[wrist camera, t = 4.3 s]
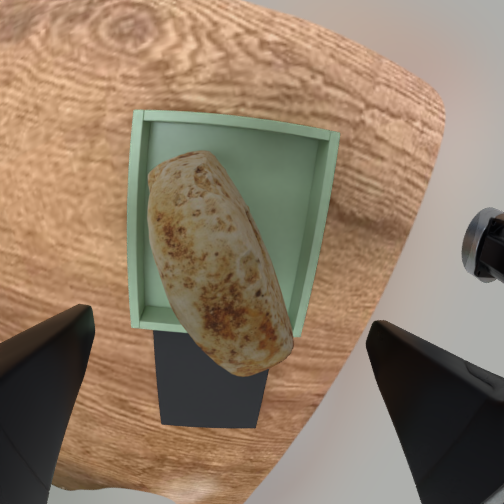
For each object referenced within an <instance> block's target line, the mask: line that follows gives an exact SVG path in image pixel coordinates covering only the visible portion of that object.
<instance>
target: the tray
mask: <svg viewBox="0 0 504 504" xmlns="http://www.w3.org/2000/svg"><path fill="white" fill-rule="evenodd" d="M339 140H340V133H339V132H335V131H330V130H325V129H320V128H315V127H310V126H304V125H298V124H292V123H286V122H280V121H273V120H266V119H259V118H251V117H243V116H234V115H225V114H214V113H202V112H187V111H168V110H134V112H133V121H132V131H131V142H130V156H129V172H128V196H127V264H128V288H129V304H130V318H131V327H132V328H141V329H150V330H160V331H171V332H183V333H188V332H187V331H186V330H185V329H184V327H183V326H182V325H181V324H180V322H179V320H178V319H177V317H176V315H175V314H174V312H173V310H172V309H171V306H170V304H169V301H168V298H167V296H166V293H165V290H164V287H163V284H162V281H161V278H160V275H159V272H158V269H157V266H156V263H155V260H154V257H153V253H152V249H151V245H150V241H149V228H148V222H147V214H148V200H149V195H150V192H149V187H148V174H149V173H150V171H152V170H153V169H154V168H155V167H156V166H157V165H159V164H160V163H162V162H164V161H166V160H168V159H171V158H173V157H176V156H179V155H181V154H185V153H187V152H192V151H200V150H205V151H210V152H211V153H212V154H213V155H214V156H215V157H216V158H217V159H218V161H219V162H220V164H221V165H222V166H223V167H224V168H225V169H226V172H227V174H228V175H229V177H230V178H231V180H232V181H233V183H234V184H235V186H236V188H237V189H238V191H239V193H240V194H241V196H242V198H243V199H244V201H245V203H246V205H247V206H249V209H250V213H251V215H252V217H253V219H254V221H255V223H256V225H257V227H258V230H259V232H260V234H261V237H262V240H263V242H264V244H265V246H266V249H267V251H268V253H269V256H270V258H271V261H272V264H273V267H274V270H275V273H276V276H277V279H278V282H279V285H280V289H281V292H282V295H283V299H284V302H285V305H286V309H287V313H288V316H289V319H290V324H291V327H292V332H293V337H300V336H301V332H302V328H303V324H304V320H305V316H306V312H307V308H308V303H309V299H310V295H311V290H312V286H313V281H314V277H315V272H316V268H317V263H318V258H319V253H320V248H321V244H322V239H323V233H324V228H325V223H326V218H327V212H328V207H329V201H330V196H331V190H332V184H333V178H334V172H335V166H336V160H337V153H338V147H339Z"/></svg>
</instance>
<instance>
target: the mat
mask: <svg viewBox="0 0 504 504" xmlns="http://www.w3.org/2000/svg"><path fill="white" fill-rule="evenodd" d="M153 334H154V351H155V365H156V377H157V388H158V398H159V408H160V416H161V424H163V425H174V426H187V427H205V428H256V424H257V420H258V416H259V411H260V407H261V403H262V398H263V394H264V389H265V385H266V380H267V375H268V371H269V369H267V370H265V371H262V372H259V373H256V374H254V375H251V376H245V377H242V376H236V375H234V374H231V373H230V372H229V371H227V370H226V369H224V368H222V367H221V366H219V365H218V364H217V363H215V362H214V361H213V360H212V359H211V358H210V357H209V356H208V355H207V354H206V353H205V352H204V351H203V350H202V349H201V348H200V347H199V346H198V345H197V344H196V343H195V342H194V340H193V339H192V338H191V336H190V335H189V334H188V333H183V332H171V331H160V330H153Z"/></svg>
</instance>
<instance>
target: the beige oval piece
mask: <svg viewBox="0 0 504 504" xmlns="http://www.w3.org/2000/svg"><path fill="white" fill-rule="evenodd" d="M148 187H149V192H150V195H149V200H148V214H147V222H148V228H149V241H150V245H151V249H152V253H153V257H154V260H155V263H156V266H157V269H158V272H159V275H160V278H161V281H162V284H163V287H164V290H165V293H166V296H167V298H168V301H169V304H170V306H171V309H172V310H173V312H174V314H175V315H176V317H177V319H178V320H179V322H180V324H181V325H182V326H183V327H184V329H185V330H186V331H187V332H188V334H189V335H190V336H191V338H192V339H193V340H194V342H195V343H196V344H197V345H198V346H199V347H200V348H201V349H202V350H203V351H204V352H205V353H206V354H207V355H208V356H209V357H210V358H211V359H212V360H213V361H214V362H215V363H217V364H218V365H219V366H221V367H222V368H224V369H226V370H227V371H229V372H230V373H231V374H234V375H236V376H242V377H245V376H251V375H254V374H256V373H259V372H262V371H265V370H267V369H269V368H271V367H273V366H275V365H276V364H278V363H280V362H282V361H283V360H284V359H286V358H287V357H288V356H289V355H290V354H291V350H292V349H293V346H294V341H293V332H292V327H291V324H290V319H289V316H288V313H287V309H286V305H285V302H284V299H283V295H282V292H281V289H280V285H279V282H278V279H277V276H276V273H275V270H274V267H273V264H272V261H271V258H270V256H269V253H268V251H267V249H266V246H265V244H264V242H263V240H262V237H261V234H260V232H259V230H258V227H257V225H256V223H255V221H254V219H253V217H252V215H251V213H250V209H249V206H247V205H246V203H245V201H244V199H243V198H242V196H241V194H240V193H239V191H238V189H237V188H236V186H235V184H234V183H233V181H232V180H231V178H230V177H229V175H228V174H227V172H226V169H225V168H224V167H223V166H222V165H221V164H220V162H219V161H218V159H217V158H216V157H215V156H214V155H213V154H212V153H211V152H210V151H205V150H200V151H192V152H187V153H185V154H181V155H179V156H176V157H173V158H171V159H168V160H166V161H164V162H162V163H160V164H159V165H157V166H156V167H155V168H154V169H153V170H152V171H150V173H149V174H148Z"/></svg>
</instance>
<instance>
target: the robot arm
mask: <svg viewBox="0 0 504 504" xmlns="http://www.w3.org/2000/svg"><path fill="white" fill-rule="evenodd" d="M474 276H476V277H480V278H496V279H498V280H499V281H501V282H502V283H504V220H501V219H498V218H494V217H491V218H490V219H489V222H488V226H487V229H486V233H485V237H484V240H483V244H482V247H481V251H480V254H479V257H478V260H477V264H476V267H475V270H474ZM94 336H95V324H94V318H93V311H92V308H91V306H90V305H84V304H78V305H76V306H74V307H72V308H69V309H67V310H65V311H63V312H61V313H59V314H57V315H55V316H53V317H51V318H49V319H47V320H45V321H43V322H41V323H39V324H37V325H35V326H33V327H31V328H29V329H27V330H25V331H23V332H21V333H19V334H17V335H15V336H14V337H12V338H10V339H8V340H6V341H4V342H2V343H0V504H47V501H48V496H49V490H50V487H51V483H52V478H53V474H54V470H55V467H56V463H57V459H58V455H59V452H60V448H61V445H62V441H63V438H64V435H65V431H66V428H67V425H68V422H69V419H70V416H71V413H72V410H73V407H74V404H75V401H76V398H77V395H78V392H79V389H80V386H81V384H82V381H83V378H84V375H85V371H86V368H87V363H88V359H89V355H90V351H91V348H92V344H93V340H94ZM366 349H367V352H368V356H369V359H370V362H371V365H372V369H373V372H374V375H375V379H376V381H377V384H378V387H379V390H380V392H381V395H382V397H383V400H384V402H385V404H386V407H387V409H388V412H389V415H390V417H391V419H392V422H393V425H394V427H395V430H396V432H397V435H398V438H399V440H400V443H401V445H402V448H403V451H404V454H405V457H406V459H407V462H408V465H409V468H410V470H411V473H412V476H413V479H414V482H415V484H416V488H417V491H418V494H419V497H420V500H421V503H422V504H504V378H503V377H501V376H498V375H496V374H493V373H491V372H489V371H487V370H484V369H482V368H480V367H478V366H476V365H474V364H472V363H470V362H468V361H465V360H463V359H462V358H460V357H458V356H456V355H454V354H452V353H450V352H448V351H446V350H444V349H442V348H440V347H438V346H436V345H434V344H432V343H430V342H428V341H426V340H424V339H422V338H420V337H417V336H416V335H414V334H412V333H410V332H407V331H406V330H403V329H402V328H399V327H398V326H395V325H394V324H391V323H390V322H388V321H384V320H377V321H374V322H373V323H372V326H371V328H370V331H369V334H368V337H367V340H366Z"/></svg>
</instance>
